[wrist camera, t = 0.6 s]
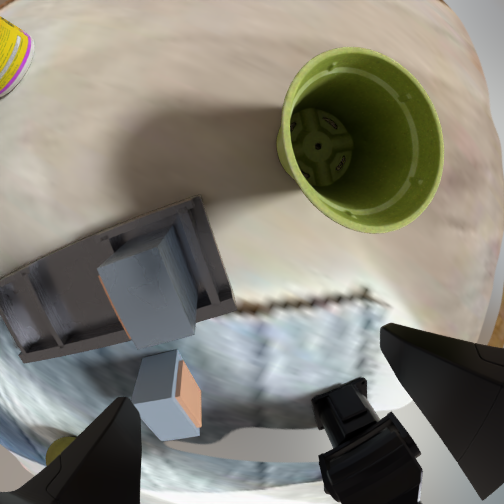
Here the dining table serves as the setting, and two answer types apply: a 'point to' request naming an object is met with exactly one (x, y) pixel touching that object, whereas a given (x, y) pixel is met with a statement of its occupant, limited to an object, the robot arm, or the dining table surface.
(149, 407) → the block
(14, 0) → the dining table surface
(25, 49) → the supplement bottle
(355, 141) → the plant pot
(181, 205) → the rail
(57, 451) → the apple
